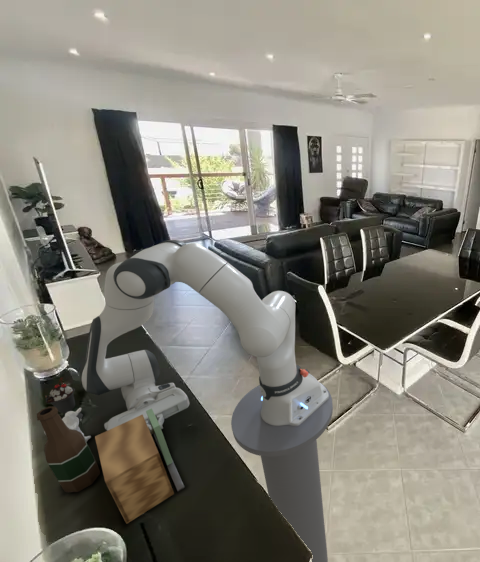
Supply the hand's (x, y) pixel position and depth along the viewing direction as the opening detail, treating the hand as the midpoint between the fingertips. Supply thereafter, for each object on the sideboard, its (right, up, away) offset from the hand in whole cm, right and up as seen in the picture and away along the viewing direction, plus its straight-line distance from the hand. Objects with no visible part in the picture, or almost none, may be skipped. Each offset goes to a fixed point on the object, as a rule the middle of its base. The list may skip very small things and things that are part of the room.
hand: (156, 429), depth 91 cm
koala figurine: (-25, -6, +3) cm, 26 cm away
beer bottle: (-15, -10, -6) cm, 19 cm away
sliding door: (+3, -7, 0) cm, 7 cm away
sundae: (-35, -2, +12) cm, 37 cm away
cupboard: (0, -9, -4) cm, 10 cm away
